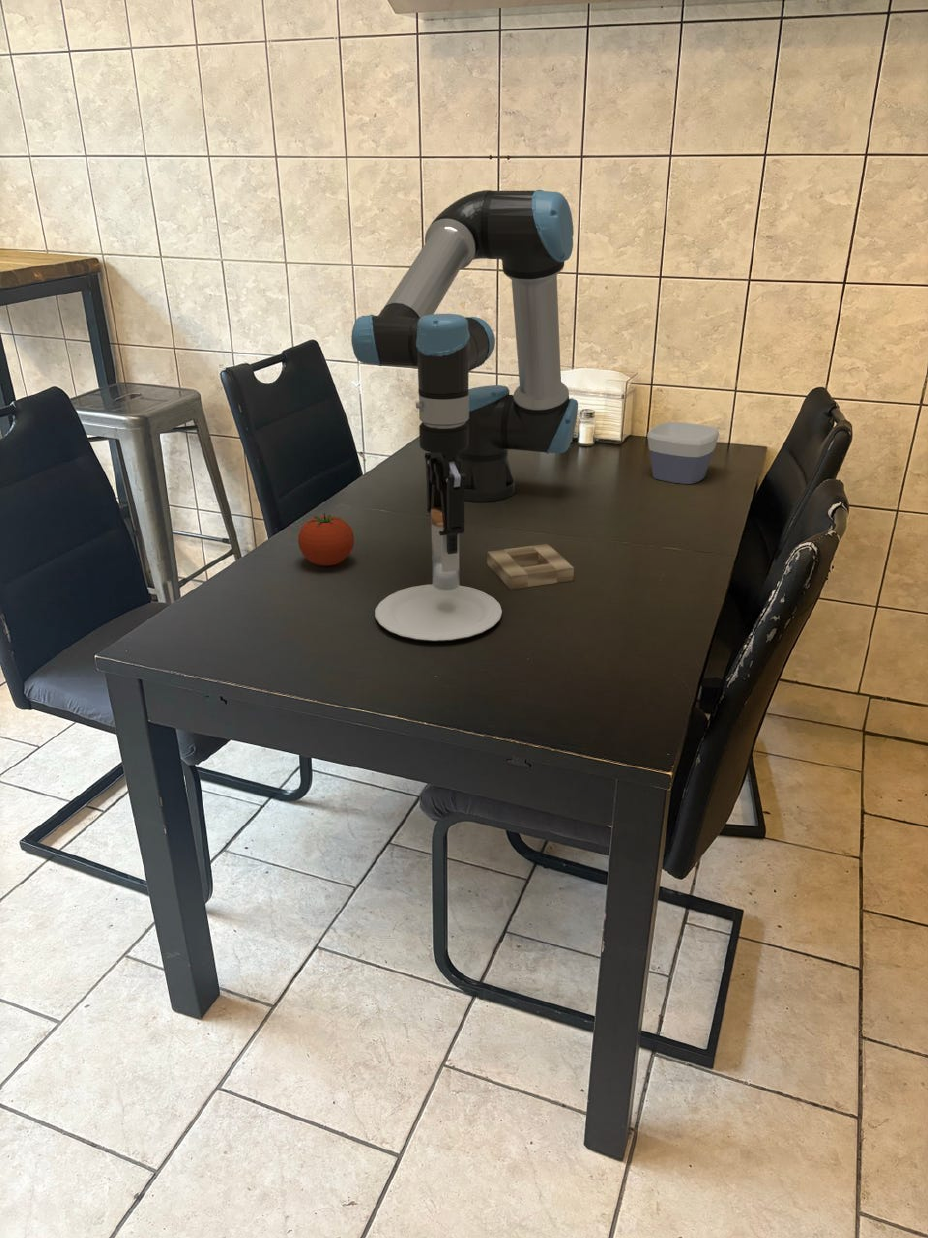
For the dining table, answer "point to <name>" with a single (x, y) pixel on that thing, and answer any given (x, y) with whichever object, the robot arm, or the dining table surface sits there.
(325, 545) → the tomato
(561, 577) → the socket block
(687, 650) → the dining table surface
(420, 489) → the dining table surface
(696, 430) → the bowl
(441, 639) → the plate
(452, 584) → the clear jar
